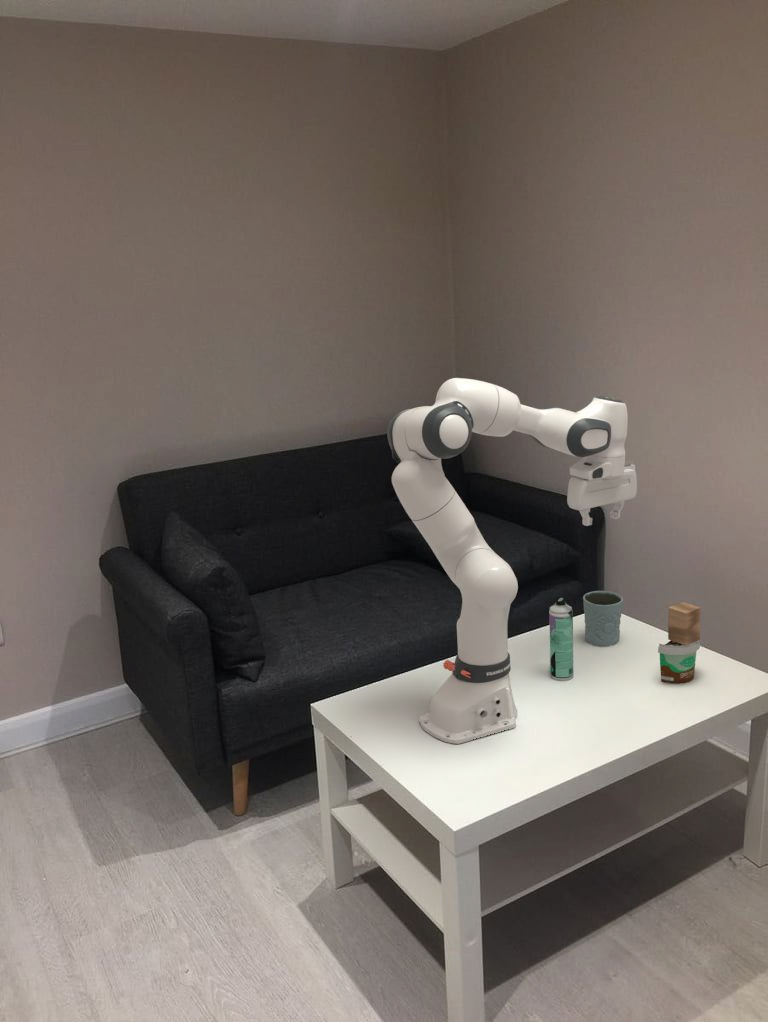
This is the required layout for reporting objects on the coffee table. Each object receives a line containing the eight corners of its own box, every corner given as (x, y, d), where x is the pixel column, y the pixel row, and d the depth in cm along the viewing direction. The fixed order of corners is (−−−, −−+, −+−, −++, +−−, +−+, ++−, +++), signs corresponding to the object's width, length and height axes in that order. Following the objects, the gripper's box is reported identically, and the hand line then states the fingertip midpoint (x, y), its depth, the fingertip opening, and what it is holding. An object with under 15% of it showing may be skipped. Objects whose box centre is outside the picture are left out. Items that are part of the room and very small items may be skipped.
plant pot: (592, 630, 248) (592, 588, 245) (628, 636, 242) (628, 594, 239) (577, 643, 240) (576, 600, 237) (614, 650, 234) (614, 607, 231)
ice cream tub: (680, 691, 211) (681, 651, 208) (657, 683, 215) (657, 644, 213) (709, 673, 218) (710, 634, 216) (686, 666, 223) (687, 628, 220)
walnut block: (685, 645, 211) (686, 613, 209) (668, 639, 215) (668, 607, 213) (699, 639, 213) (700, 607, 211) (682, 633, 218) (682, 602, 215)
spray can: (573, 671, 224) (572, 594, 219) (573, 681, 219) (572, 603, 214) (550, 670, 225) (549, 594, 220) (550, 680, 220) (548, 603, 215)
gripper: (625, 457, 223) (620, 511, 227) (564, 468, 212) (561, 525, 216) (645, 462, 218) (640, 517, 222) (584, 474, 207) (580, 532, 211)
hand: (601, 521), depth 219 cm, fingers open, 8 cm apart
